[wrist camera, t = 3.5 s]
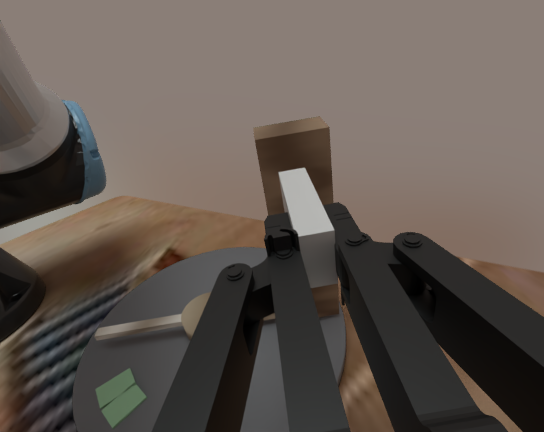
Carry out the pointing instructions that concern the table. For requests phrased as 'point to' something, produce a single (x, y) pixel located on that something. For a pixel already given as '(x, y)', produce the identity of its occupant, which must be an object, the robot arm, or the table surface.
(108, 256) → the table surface
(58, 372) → the table surface
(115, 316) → the dial plate
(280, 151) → the brown bar with rod
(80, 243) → the table surface
